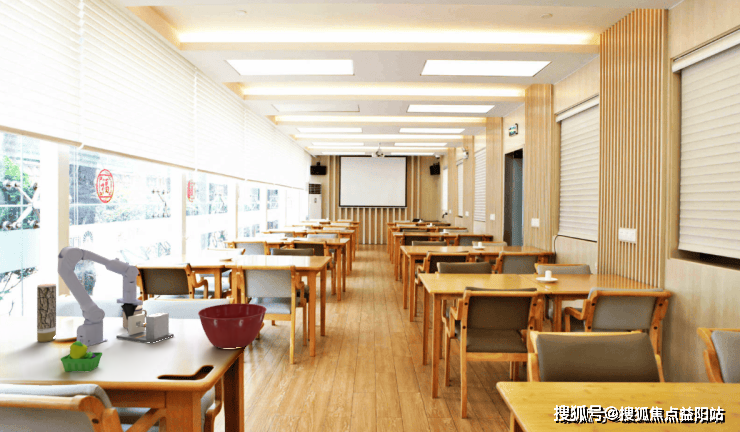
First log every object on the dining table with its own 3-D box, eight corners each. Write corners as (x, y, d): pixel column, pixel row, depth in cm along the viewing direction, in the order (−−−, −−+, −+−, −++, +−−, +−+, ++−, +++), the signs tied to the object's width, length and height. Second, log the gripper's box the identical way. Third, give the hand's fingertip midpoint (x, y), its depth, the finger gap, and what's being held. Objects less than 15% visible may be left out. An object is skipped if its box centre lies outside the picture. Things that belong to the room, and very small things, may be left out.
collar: (131, 334, 196) (131, 317, 196) (128, 334, 197) (128, 316, 197) (144, 330, 203) (144, 314, 203) (141, 330, 204) (141, 313, 204)
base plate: (152, 343, 188) (152, 340, 188) (116, 338, 196) (116, 335, 196) (173, 336, 200) (173, 333, 200) (139, 331, 208) (139, 329, 208)
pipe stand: (154, 339, 191) (154, 317, 191) (123, 335, 197) (123, 313, 197) (168, 334, 198) (168, 313, 198) (138, 330, 205) (138, 309, 205)
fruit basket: (103, 365, 161) (103, 335, 161) (89, 374, 153) (89, 342, 153) (72, 365, 161) (73, 335, 161) (56, 374, 152) (56, 342, 152)
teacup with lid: (128, 329, 212) (128, 305, 212) (118, 326, 217) (118, 303, 217) (151, 324, 222) (151, 301, 222) (141, 321, 227) (141, 299, 227)
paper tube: (45, 343, 189) (45, 286, 189) (33, 342, 190) (33, 285, 190) (59, 338, 195) (59, 284, 195) (47, 337, 197) (47, 283, 197)
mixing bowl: (278, 346, 186) (278, 310, 186) (213, 360, 167) (213, 321, 167) (249, 332, 207) (249, 300, 207) (188, 344, 188) (188, 309, 188)
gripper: (148, 290, 203) (148, 318, 203) (126, 288, 208) (125, 316, 208) (135, 292, 196) (135, 322, 196) (112, 290, 201) (112, 319, 201)
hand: (129, 319), depth 202 cm, fingers closed
